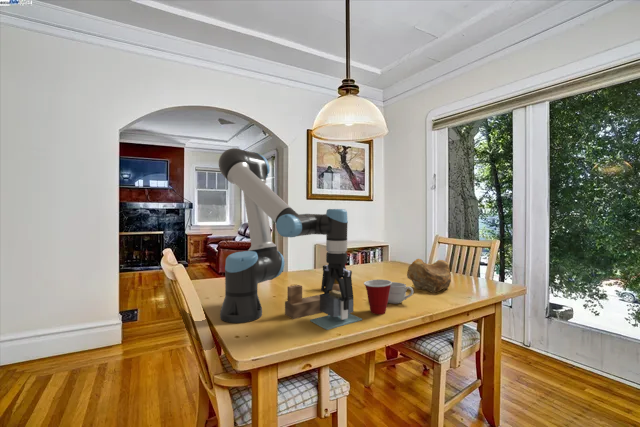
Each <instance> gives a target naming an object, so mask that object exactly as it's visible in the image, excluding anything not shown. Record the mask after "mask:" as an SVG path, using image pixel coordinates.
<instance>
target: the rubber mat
mask: <svg viewBox="0 0 640 427" xmlns="http://www.w3.org/2000/svg"><path fill="white" fill-rule="evenodd" d="M309 321H310V322H311V323H313V324H315V325H316V326H318V327H320V328H323V329H324V330H326V331H329V330H331V329H335V328H339V327H343V326H346V325H349V324H354V323H357V322H361V321H363V318H361V317H358V316H356V315H355V314H352V313H348V318H346V319H343V320H342V319H341V315H340V316H336V317H332V316H330V315H328V314H326V315H323V316H319V317H315V318H312V319H309Z"/></svg>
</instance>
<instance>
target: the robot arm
mask: <svg viewBox="0 0 640 427" xmlns="http://www.w3.org/2000/svg"><path fill="white" fill-rule="evenodd" d="M218 168H219V171H220V173H221V174H222V175H223V177H224V178H225V179H226V181H228V182H229V183H230V184H235V185H236V186H237V187H238V188H239V189H240V190H241V191H243V198H244V200H243V201H244V206H245V212H246V218H247V225H248V231H249V232H248V233H249V238H250V244H251V245H250V247H249V249H247V250H245V251H243V250H242V251H237V252H232V253H231V254H228V256H227V257H226V258H225V266H224V278H225V279H224V281H225V282H224V284H225V285H224V286H225V290H224V291H225V293H224V294H225V295H224V299H223V302H222V306H221V309H220V314H219V316H220V318H219V319H220V320H222V321H224V322H226V323H233V324H235V323H236V324H237V323H239V324H240V323H248V322H252V321H255V320H257V319H260V318H261V317H262V316H263V308H262V304H261V301H260V299H259V295H258V284H260V283H263V282H267V281H272V280H273V279H275V278H278V277H279V276H280V275H281V274H282V273H283V271H284V268H285V265H286V264H285V258H284V255H283V254H282V253H281V252H280V251H279V250H278V247H277V244H275V242H273V240H272V232H271V226H270V221H269V219H271V220H272V221H273V222H274V223H275V228H276V231H277V233H278V235H279V236H280V237H281V236H282V237H283V238H295V237H300V236H301V237H303V236H310V235H324V236H325V238H326V245H325V246H326V247H325V250H326V255H325V260H326V263H327V264H325V265H322V279H321V288H320V290H321V292H323V294H324V293H329V291H332V288H333V284H334V281H335V278H336V280H337V282H338V284H339V288H340V292H341V296H342V300H341V319H342V320H343V319H346V318H348V309H349V300H351V299H353V300H354V290H353V281H352V274H353V271H352V270H348V269H347V268H346V264H348V253H347V251H348V225H349V224H348V221H349V220H348V212H347V210H346V208H329V209H328V208H327V210H326V213H324V214H319V213H301V214H300V213H297V212H296V211H295V210H294V209H293V208H292V207H291V206H290V205H289V204H288V203H287V202H286V201H284V200H283V199H282V198H281V197H280V196H279V195H278V194H277V193H276V192H275V191H273V190H272V189H271V188H270V187H269V186H268V185H267V184H266V183H267V178H268V177H269V174H270V168H271V167H270V164H269V161H268V159H267V158H266V157H265V156H264V155H262V154H260V153H257V152H254V151H248V150H243V149H241V148H235V147H233V148H228V149H226V150H224V151H223V152H222V154H221V155H220V156H219V160H218ZM340 278H341V279H340ZM345 296H346V297H345Z"/></svg>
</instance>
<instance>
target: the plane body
mask: <svg viewBox="0 0 640 427" xmlns="http://www.w3.org/2000/svg"><path fill="white" fill-rule="evenodd" d="M332 290H336V291H340V288H339V284H333V288H332ZM321 313H323V312H321V311H320V294H317V295H312V296H305V297H303V285H300V284H296V285H295V284H294V285H290V286H289V285H288V286H287V300H285V301H284V315H285V316H286V317H288V318H289V319H290V318H291V319H292V320H295V319H299V318H304V317H308V316H312V315H316V314H321Z"/></svg>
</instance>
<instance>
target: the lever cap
mask: <svg viewBox="0 0 640 427" xmlns="http://www.w3.org/2000/svg"><path fill="white" fill-rule="evenodd" d="M319 295H320V311H321V312H322V313H324V314H325V315H330V316H332V317H336V316H340V315H341V300H342V296H341V292H340V291H336V290H332V291H329V293H324V292H323V293H321V294H319ZM345 297H346V296H345ZM348 313H350V314H352V313H354V298H353V299H351V300H349V309H348Z"/></svg>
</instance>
